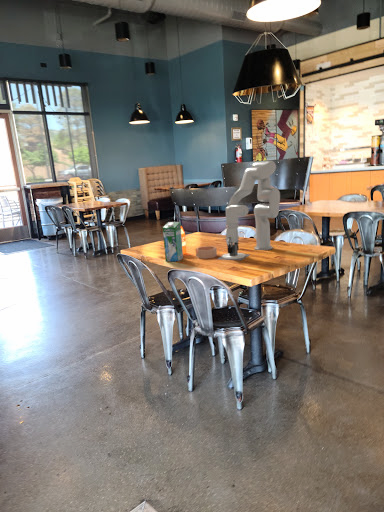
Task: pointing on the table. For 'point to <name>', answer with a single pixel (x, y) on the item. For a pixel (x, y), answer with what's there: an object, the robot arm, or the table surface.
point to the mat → (235, 259)
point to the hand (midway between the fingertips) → (233, 251)
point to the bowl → (206, 252)
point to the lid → (234, 254)
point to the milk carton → (173, 241)
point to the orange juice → (183, 240)
